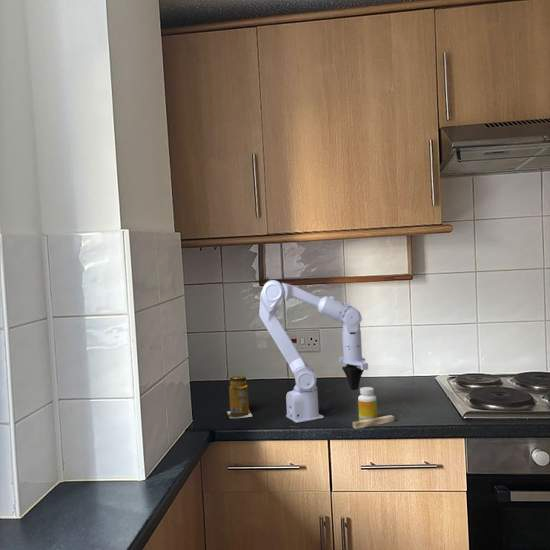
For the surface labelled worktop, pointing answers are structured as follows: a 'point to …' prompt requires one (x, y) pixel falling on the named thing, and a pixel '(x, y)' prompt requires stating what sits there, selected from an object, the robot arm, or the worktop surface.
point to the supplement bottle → (367, 404)
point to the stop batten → (373, 421)
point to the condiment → (238, 398)
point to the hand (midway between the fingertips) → (354, 389)
